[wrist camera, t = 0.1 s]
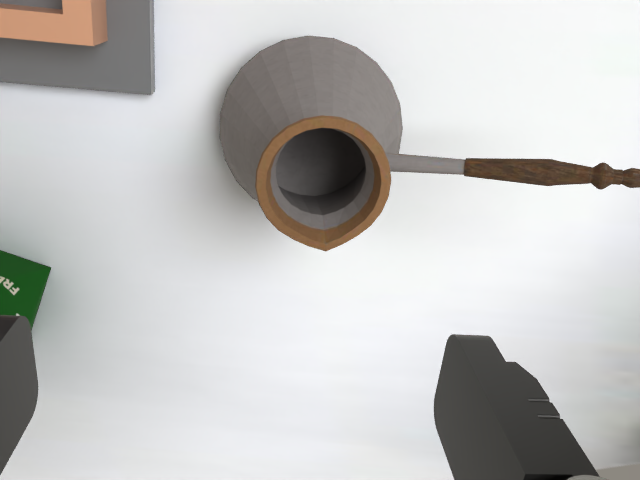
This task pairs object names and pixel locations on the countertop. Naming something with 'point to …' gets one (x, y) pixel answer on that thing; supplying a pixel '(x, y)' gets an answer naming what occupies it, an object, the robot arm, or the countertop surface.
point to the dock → (79, 44)
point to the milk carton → (21, 286)
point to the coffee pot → (342, 142)
